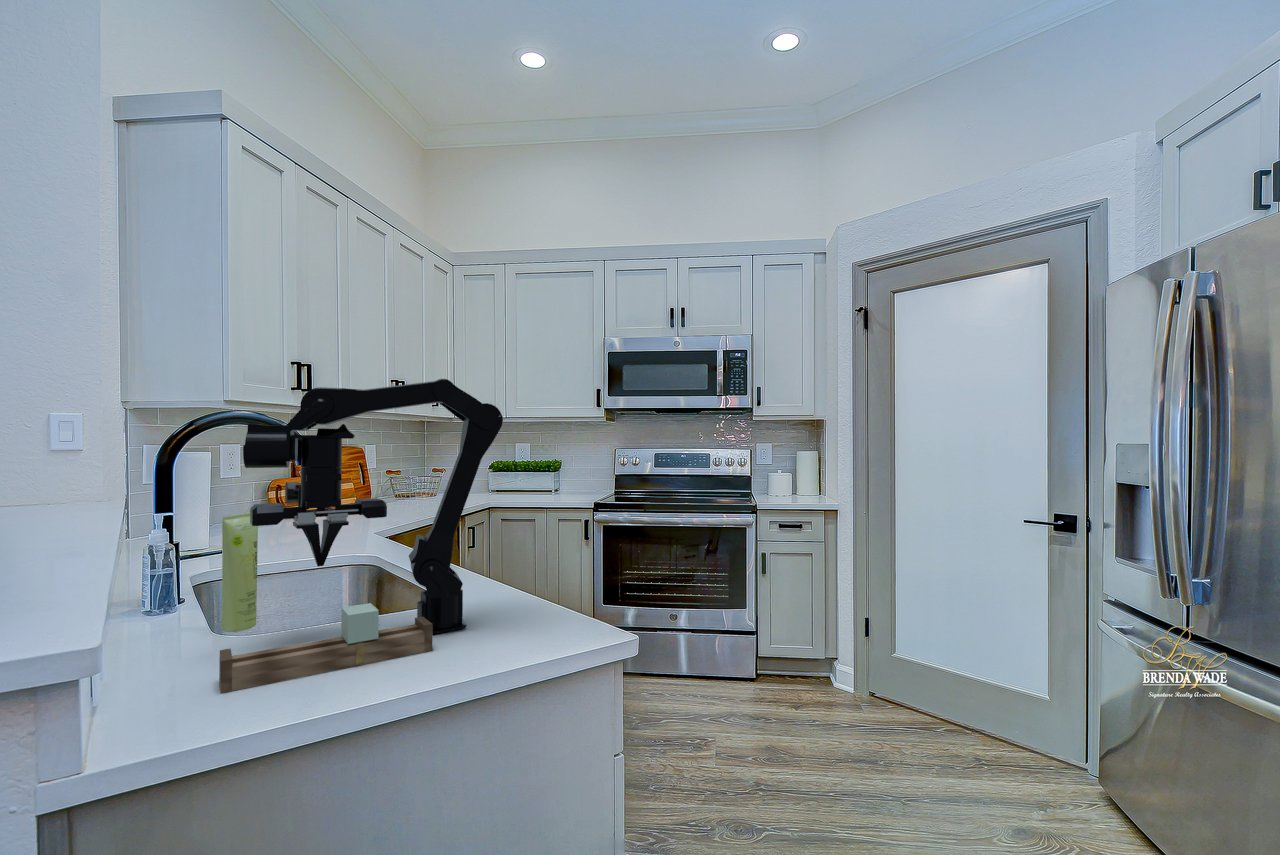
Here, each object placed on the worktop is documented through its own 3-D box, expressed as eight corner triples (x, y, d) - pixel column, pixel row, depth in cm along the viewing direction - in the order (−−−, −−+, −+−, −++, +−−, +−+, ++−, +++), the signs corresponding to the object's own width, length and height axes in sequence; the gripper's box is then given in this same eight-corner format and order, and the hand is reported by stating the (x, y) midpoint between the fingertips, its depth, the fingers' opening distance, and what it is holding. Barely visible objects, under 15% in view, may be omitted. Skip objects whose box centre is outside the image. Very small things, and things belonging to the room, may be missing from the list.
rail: (422, 641, 96) (422, 616, 96) (432, 650, 91) (432, 624, 91) (219, 680, 80) (219, 649, 80) (220, 693, 76) (220, 661, 76)
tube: (256, 630, 101) (258, 513, 102) (220, 635, 98) (222, 515, 99) (256, 622, 106) (258, 510, 106) (221, 626, 103) (223, 512, 104)
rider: (370, 640, 91) (370, 603, 91) (378, 649, 87) (378, 610, 87) (341, 645, 89) (341, 607, 89) (347, 655, 84) (348, 615, 85)
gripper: (372, 464, 108) (371, 552, 108) (248, 467, 97) (246, 564, 97) (388, 466, 99) (387, 562, 99) (253, 469, 88) (251, 577, 88)
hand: (320, 565), depth 96 cm, fingers closed
